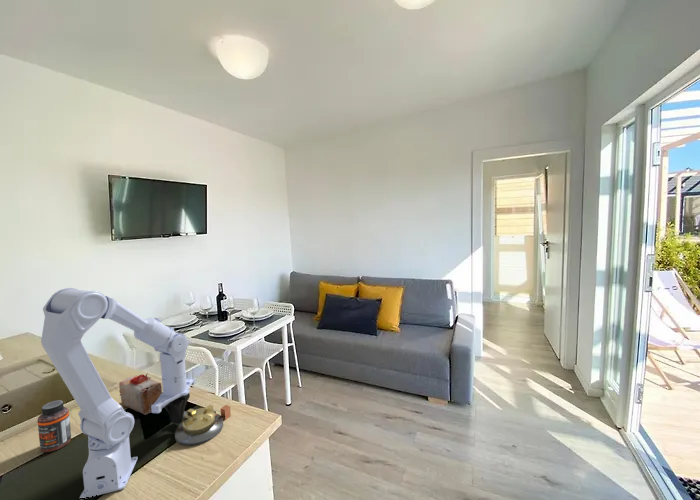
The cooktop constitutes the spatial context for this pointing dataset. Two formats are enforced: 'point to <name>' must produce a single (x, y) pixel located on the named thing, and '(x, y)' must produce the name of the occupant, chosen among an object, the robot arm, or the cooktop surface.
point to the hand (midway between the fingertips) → (177, 421)
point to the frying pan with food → (205, 436)
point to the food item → (139, 393)
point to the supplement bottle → (54, 426)
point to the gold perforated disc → (198, 420)
